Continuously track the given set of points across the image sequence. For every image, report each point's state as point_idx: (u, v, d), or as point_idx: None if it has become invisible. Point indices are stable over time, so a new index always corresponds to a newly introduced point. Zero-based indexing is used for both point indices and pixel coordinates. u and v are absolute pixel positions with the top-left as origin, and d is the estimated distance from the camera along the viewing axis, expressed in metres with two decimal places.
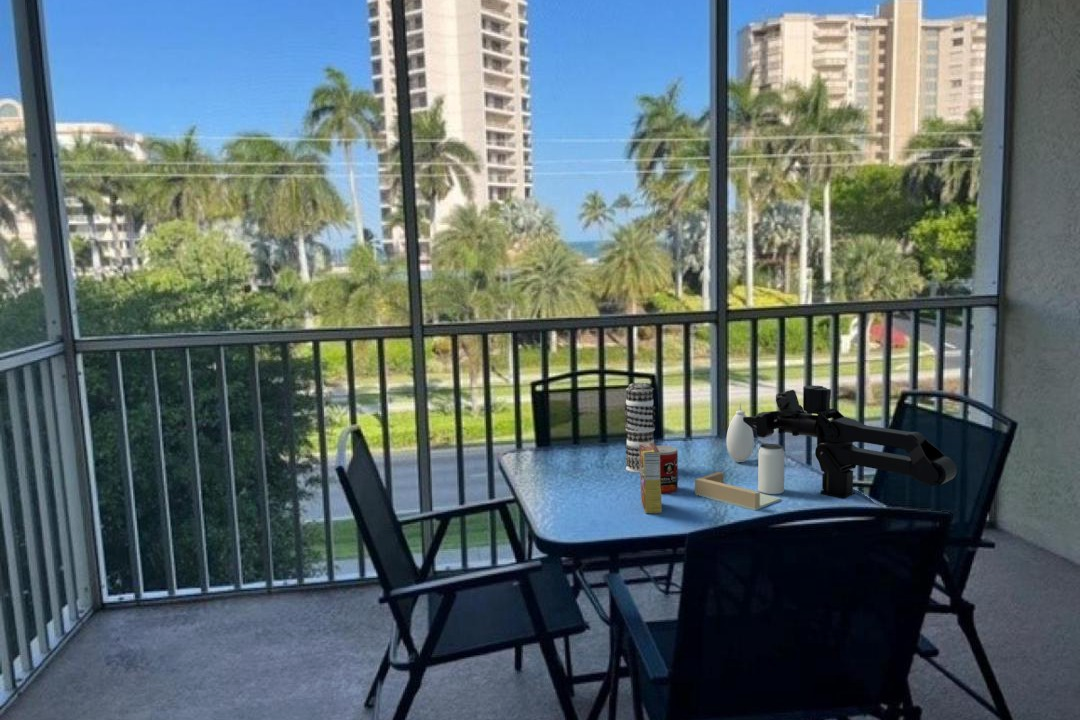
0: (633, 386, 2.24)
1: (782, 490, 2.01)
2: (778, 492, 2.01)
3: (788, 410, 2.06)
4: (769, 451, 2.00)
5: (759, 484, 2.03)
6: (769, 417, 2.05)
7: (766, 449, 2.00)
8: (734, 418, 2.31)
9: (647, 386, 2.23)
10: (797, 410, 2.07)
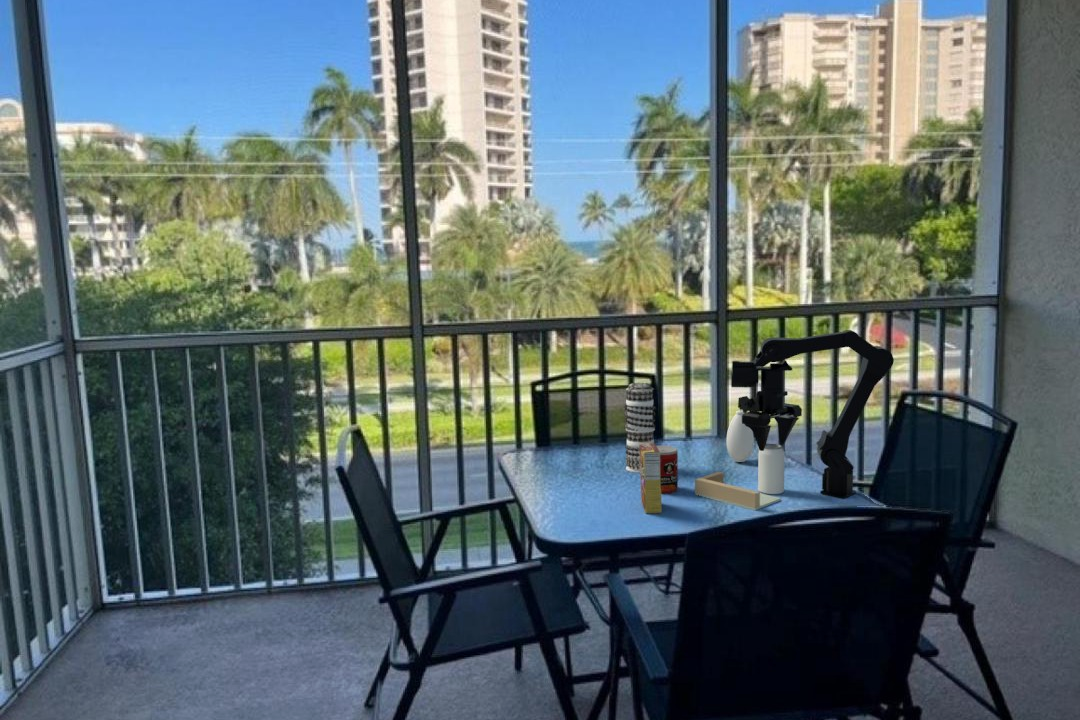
0: (633, 386, 2.24)
1: (782, 490, 2.01)
2: (778, 492, 2.01)
3: (754, 399, 2.02)
4: (769, 451, 2.00)
5: (759, 484, 2.03)
6: (747, 412, 1.98)
7: (766, 449, 2.00)
8: (734, 418, 2.31)
9: (647, 386, 2.23)
10: None
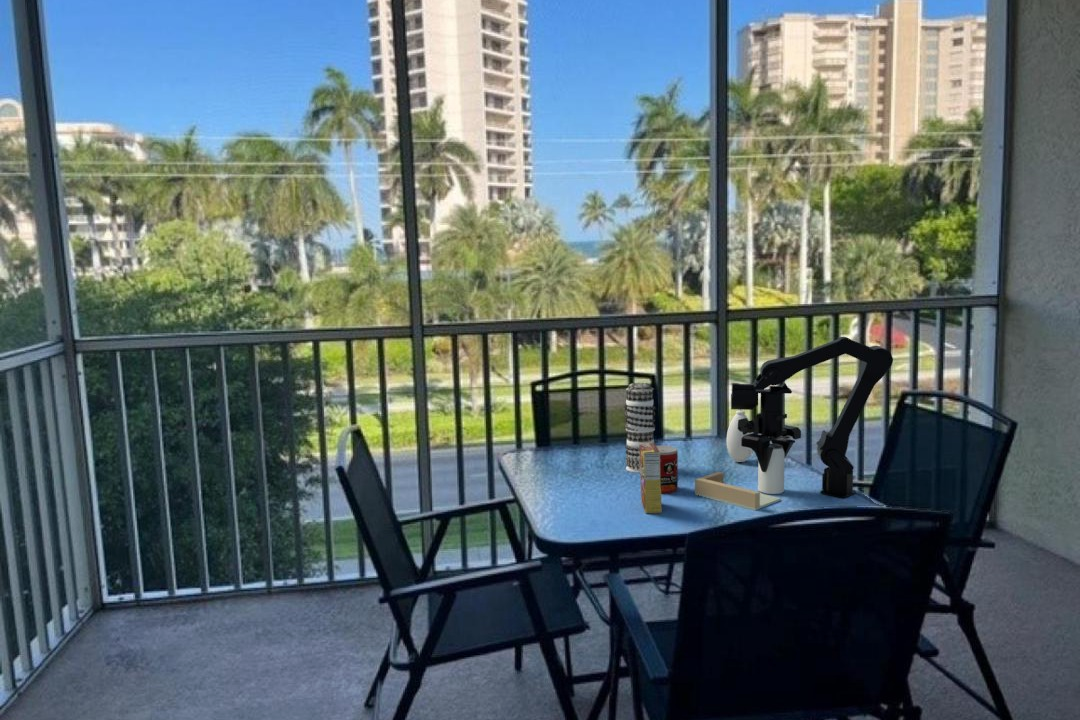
0: (633, 386, 2.24)
1: (782, 490, 2.01)
2: (778, 492, 2.01)
3: (754, 422, 2.03)
4: None
5: (759, 484, 2.03)
6: (747, 435, 1.99)
7: None
8: (734, 418, 2.31)
9: (647, 386, 2.23)
10: None
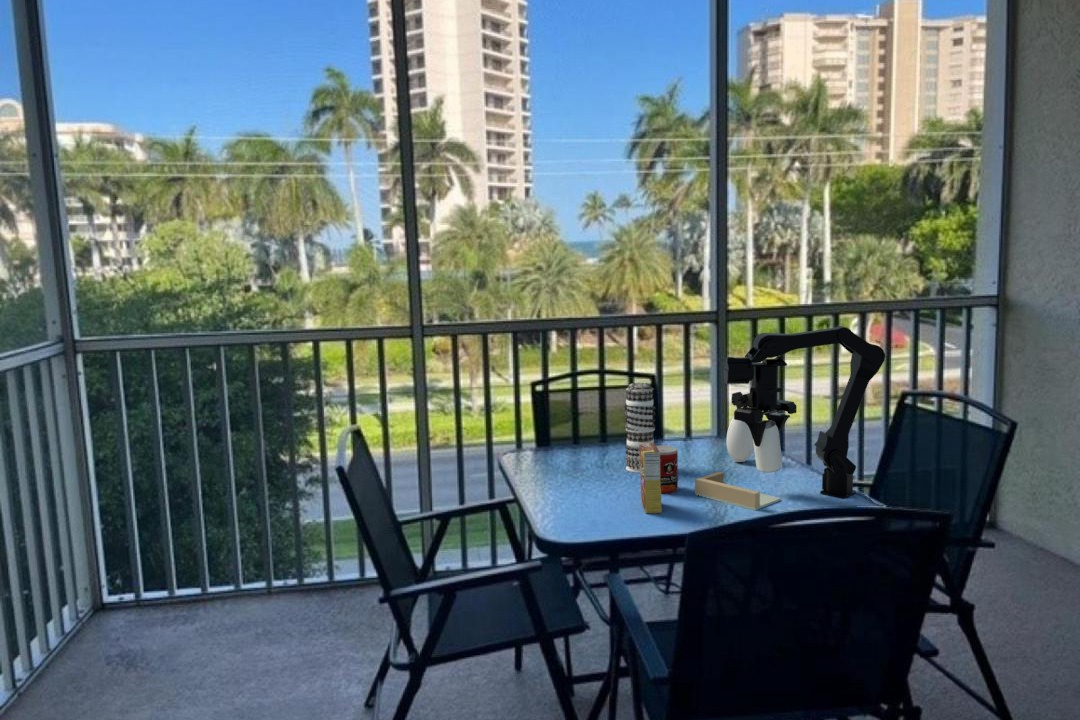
0: (633, 386, 2.24)
1: (780, 466, 1.99)
2: (776, 469, 1.98)
3: (748, 395, 1.99)
4: None
5: (756, 463, 2.01)
6: (740, 408, 1.95)
7: None
8: None
9: (647, 386, 2.23)
10: None
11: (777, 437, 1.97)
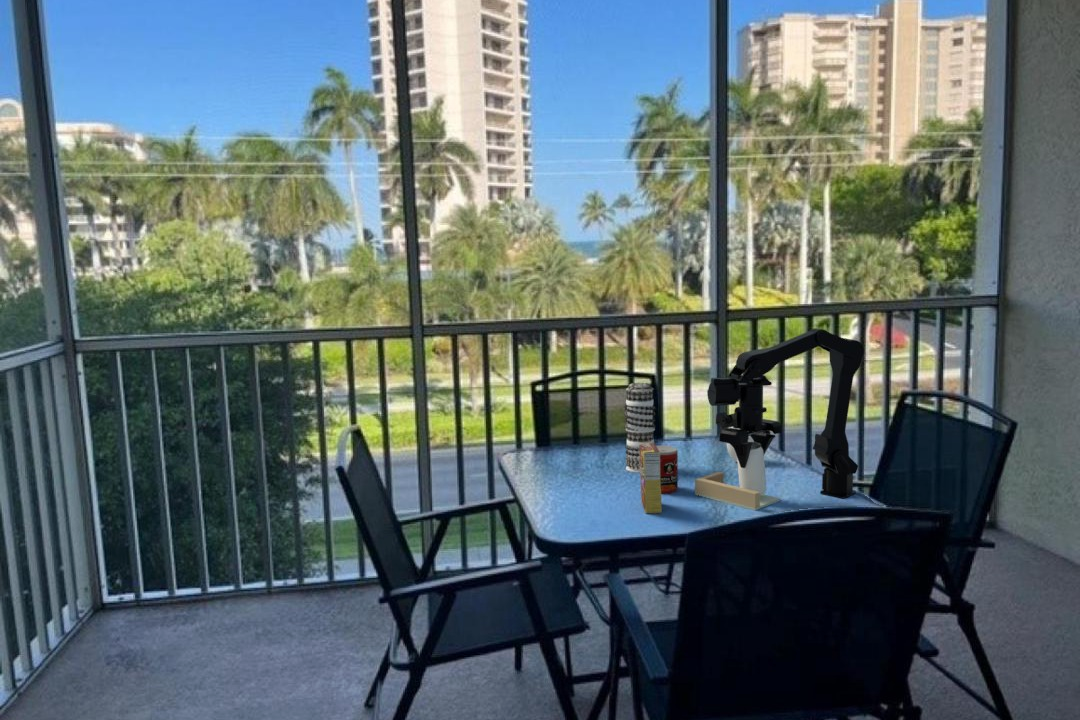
0: (633, 386, 2.24)
1: (764, 489, 1.95)
2: (760, 492, 1.94)
3: (733, 416, 1.95)
4: None
5: (740, 485, 1.96)
6: (725, 429, 1.91)
7: None
8: None
9: (647, 386, 2.23)
10: None
11: (762, 459, 1.93)
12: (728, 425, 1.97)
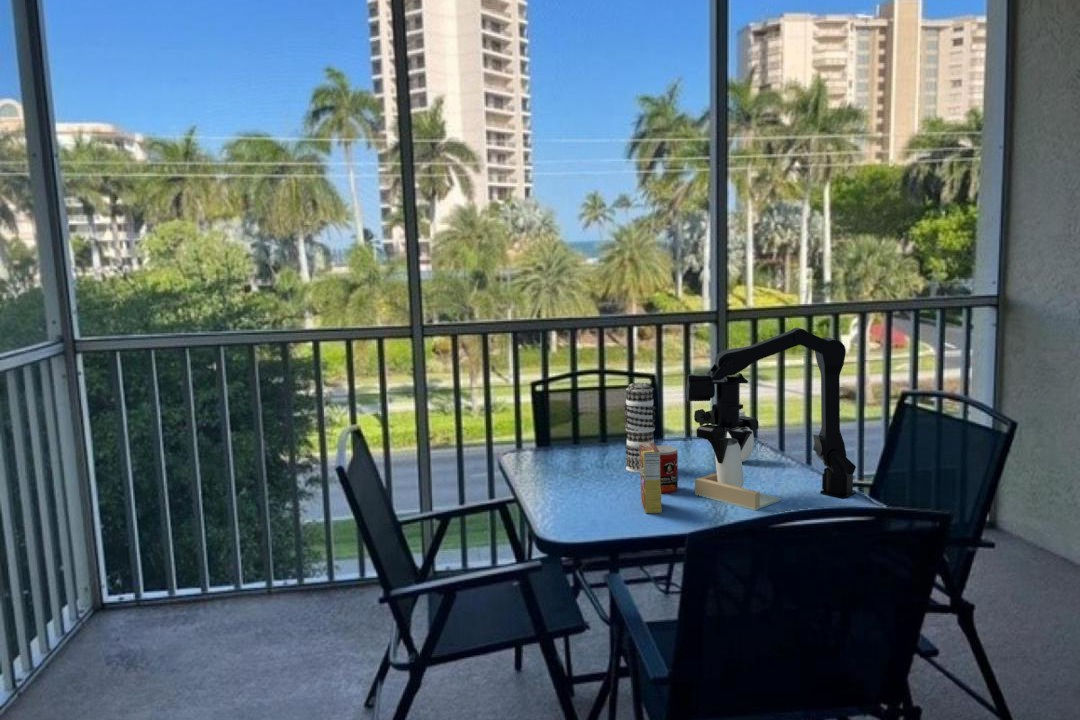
0: (633, 386, 2.24)
1: (741, 484, 2.00)
2: None
3: (710, 412, 2.01)
4: None
5: (718, 480, 2.02)
6: None
7: None
8: None
9: (647, 386, 2.23)
10: None
11: (739, 455, 1.99)
12: (706, 422, 2.02)
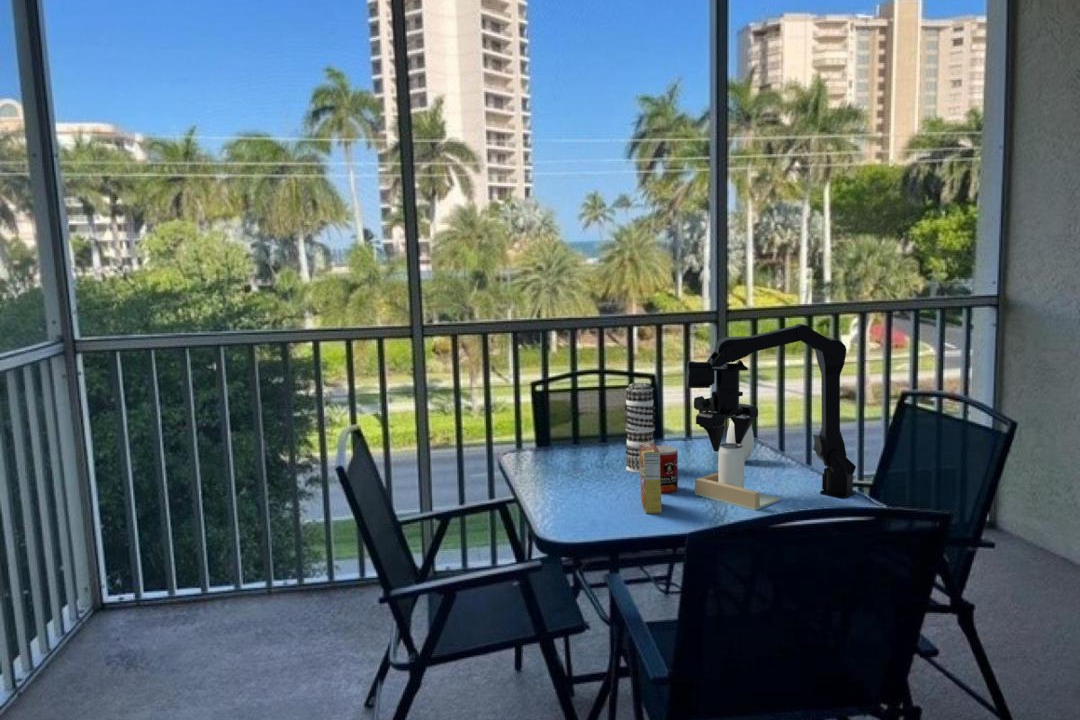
0: (633, 386, 2.24)
1: None
2: None
3: (710, 400, 2.00)
4: (729, 450, 1.99)
5: None
6: (702, 412, 1.96)
7: (726, 448, 1.99)
8: None
9: (647, 386, 2.23)
10: None
11: (742, 459, 2.00)
12: (705, 409, 2.01)
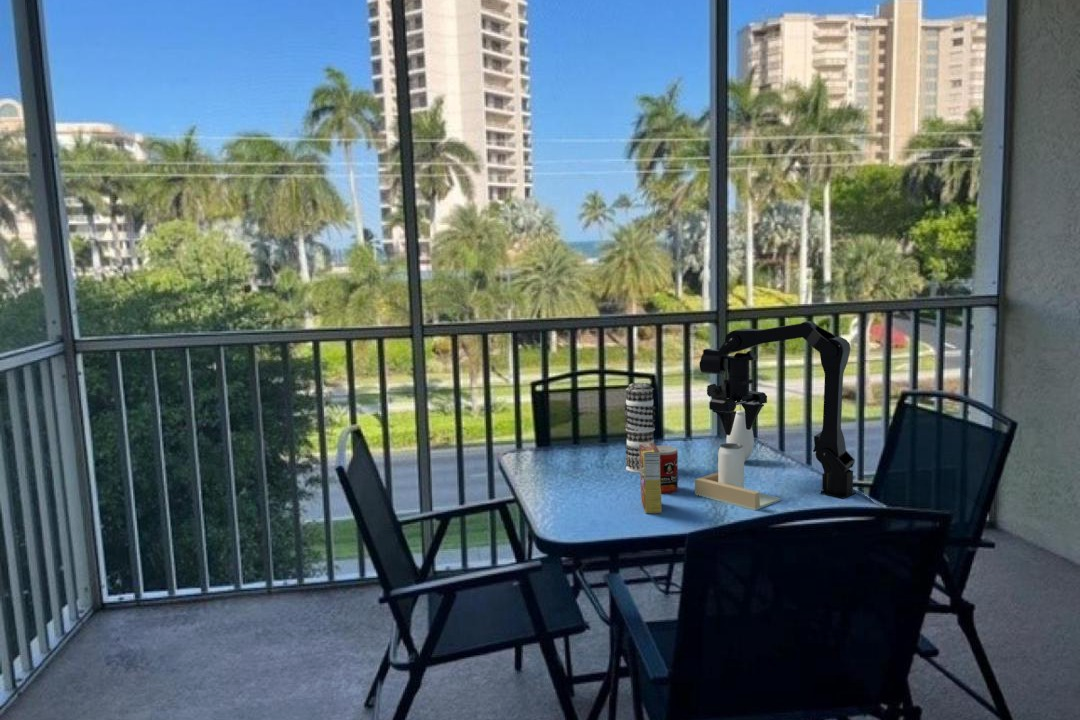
0: (633, 386, 2.24)
1: None
2: None
3: (722, 387, 2.14)
4: (728, 450, 1.99)
5: None
6: (715, 398, 2.10)
7: (726, 449, 1.99)
8: None
9: (647, 386, 2.23)
10: None
11: (742, 459, 1.99)
12: (718, 395, 2.15)
